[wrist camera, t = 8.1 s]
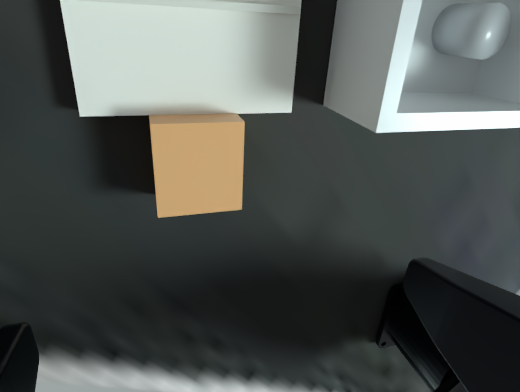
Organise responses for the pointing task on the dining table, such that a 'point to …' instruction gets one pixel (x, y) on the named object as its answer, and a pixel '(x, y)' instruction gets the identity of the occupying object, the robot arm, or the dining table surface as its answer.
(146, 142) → the dining table surface
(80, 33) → the lid
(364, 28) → the white open box
